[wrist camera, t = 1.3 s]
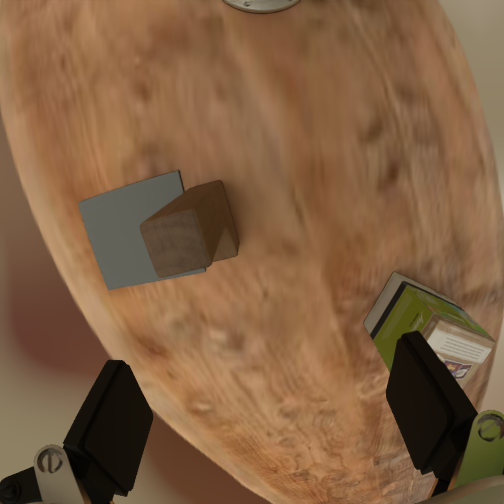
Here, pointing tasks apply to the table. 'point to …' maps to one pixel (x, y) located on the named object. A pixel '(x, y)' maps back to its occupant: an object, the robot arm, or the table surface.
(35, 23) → the table surface
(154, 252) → the wooden block
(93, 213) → the mat
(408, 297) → the tea box
